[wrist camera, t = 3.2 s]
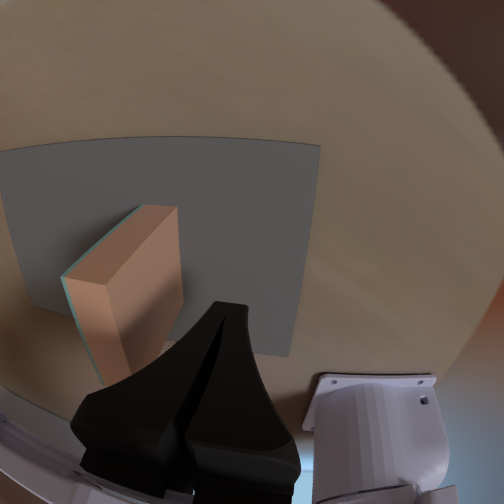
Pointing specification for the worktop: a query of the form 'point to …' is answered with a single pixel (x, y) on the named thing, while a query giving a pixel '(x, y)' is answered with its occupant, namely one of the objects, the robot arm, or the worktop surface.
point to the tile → (128, 292)
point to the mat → (189, 218)
